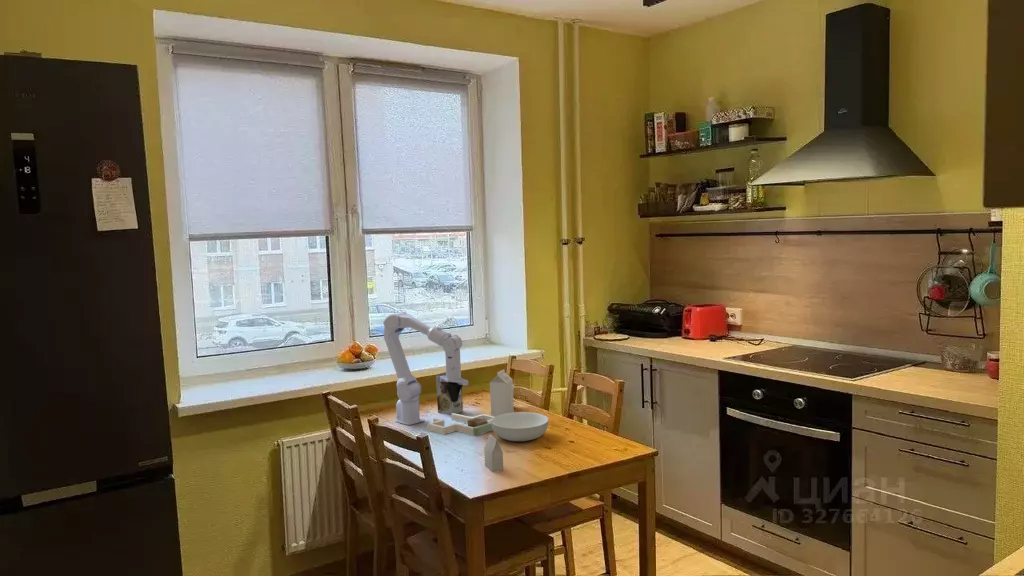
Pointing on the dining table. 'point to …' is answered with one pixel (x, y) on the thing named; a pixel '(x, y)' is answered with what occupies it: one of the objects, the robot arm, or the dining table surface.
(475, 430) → the trap channel
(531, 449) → the dining table surface
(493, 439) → the gray house block
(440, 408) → the coffee box
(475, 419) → the walnut block
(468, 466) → the dining table surface
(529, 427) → the serving bowl
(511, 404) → the milk carton
